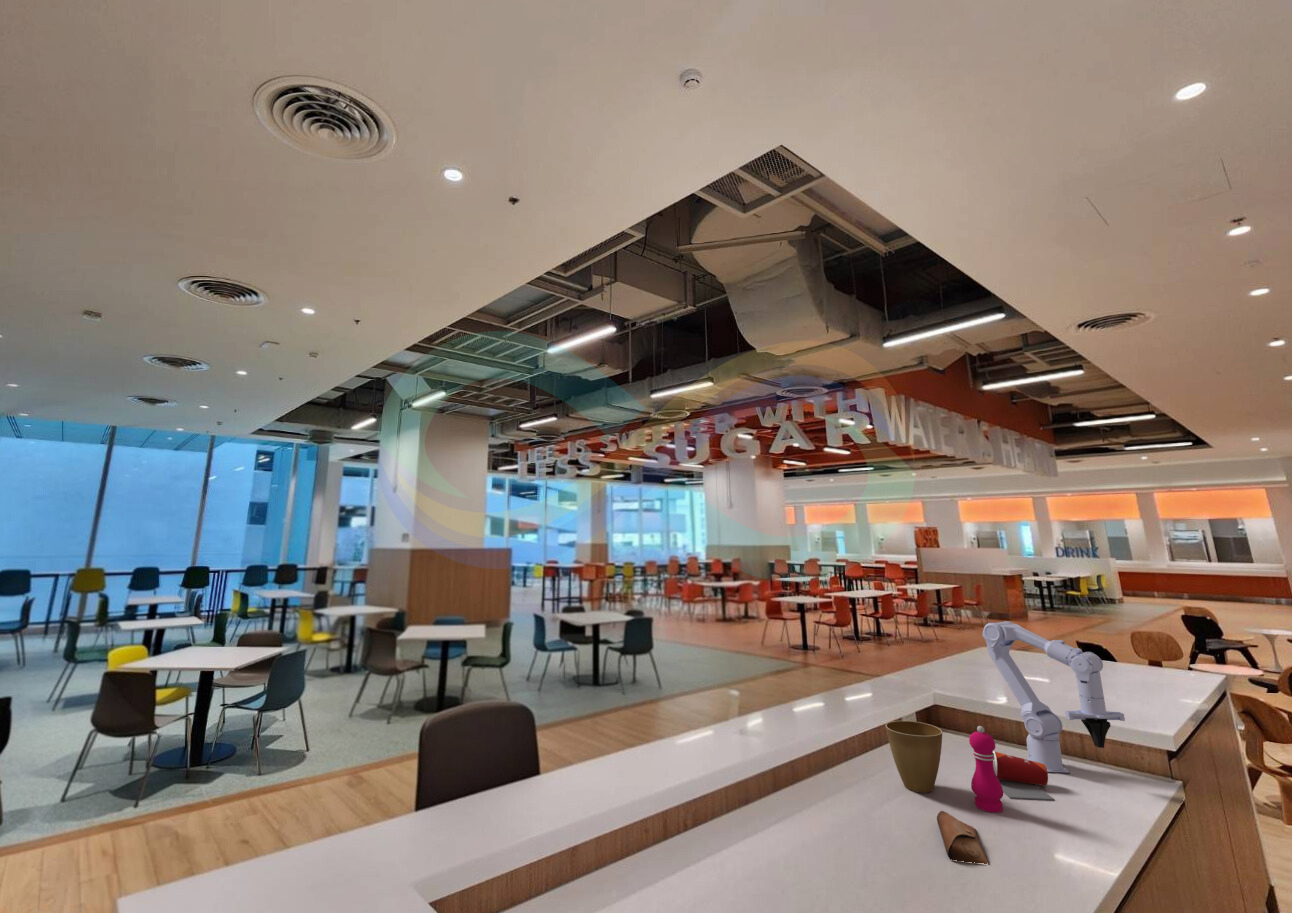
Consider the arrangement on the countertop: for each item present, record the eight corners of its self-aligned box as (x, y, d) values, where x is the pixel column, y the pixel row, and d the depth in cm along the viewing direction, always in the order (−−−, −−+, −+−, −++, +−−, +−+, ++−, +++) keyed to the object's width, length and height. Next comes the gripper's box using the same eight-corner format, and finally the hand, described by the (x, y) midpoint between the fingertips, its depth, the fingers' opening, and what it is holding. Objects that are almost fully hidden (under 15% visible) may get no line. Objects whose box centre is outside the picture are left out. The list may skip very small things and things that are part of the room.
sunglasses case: (993, 867, 118) (972, 835, 120) (963, 880, 120) (942, 848, 122) (975, 828, 135) (957, 800, 137) (949, 840, 136) (931, 812, 138)
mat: (983, 775, 166) (983, 773, 166) (1023, 776, 164) (1023, 775, 164) (1010, 798, 150) (1010, 797, 150) (1054, 800, 149) (1054, 799, 149)
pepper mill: (1010, 814, 141) (1000, 731, 145) (979, 812, 143) (970, 729, 146) (998, 802, 148) (989, 722, 152) (969, 800, 150) (961, 721, 153)
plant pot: (958, 798, 151) (952, 735, 153) (903, 798, 151) (898, 736, 154) (932, 776, 165) (926, 719, 168) (881, 776, 166) (877, 719, 168)
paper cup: (1044, 754, 159) (988, 744, 163) (1051, 782, 153) (993, 770, 158) (1037, 767, 163) (983, 756, 168) (1044, 795, 158) (987, 783, 162)
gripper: (1072, 699, 159) (1080, 750, 156) (1128, 700, 157) (1137, 752, 154) (1058, 693, 166) (1065, 742, 163) (1111, 694, 164) (1119, 743, 161)
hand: (1099, 746), depth 159 cm, fingers closed
